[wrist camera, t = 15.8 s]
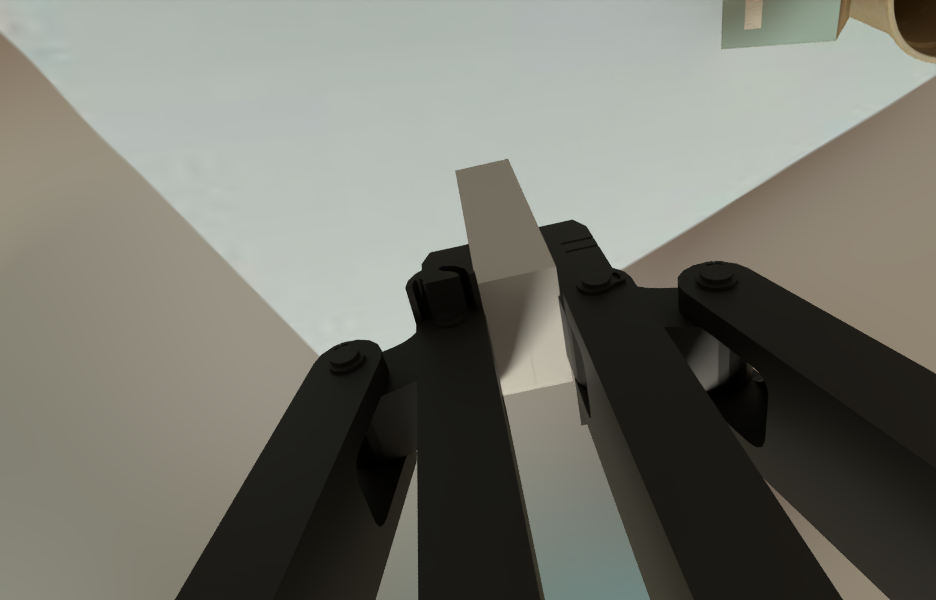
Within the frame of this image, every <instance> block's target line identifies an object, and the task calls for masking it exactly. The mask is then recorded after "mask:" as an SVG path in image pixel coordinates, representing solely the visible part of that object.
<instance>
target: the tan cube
mask: <svg viewBox="0 0 936 600" xmlns="http://www.w3.org/2000/svg"><path fill="white" fill-rule="evenodd" d="M850 4H851V0H723V13H722V43H721V49H730V48H744V47H758V46H771V45H785V44H799V43H812V42H826V41H836V39H837V38H838V36H839V34H840V32H841V31H842V29H843V27H844V26H845V24H846V22H847V20H848V19H849V12H850Z"/></svg>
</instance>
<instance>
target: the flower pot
mask: <svg viewBox="0 0 936 600" xmlns="http://www.w3.org/2000/svg"><path fill="white" fill-rule="evenodd" d="M849 17H851V18H854V19H856V20H858V21H861V22H863V23H865V24H867V25H870V26H872V27H874V28H876V29H879V30H881V31H883V32H886V33H888V34H889V35H890V36H891V37H892V38H893V39H894V41H895V42H896V44H897V45H898V46H899V47H900V48H901V49H902V50H903V51H904V52H905V53H906V54H908V55H910V56H912V57H914V58H916V59H918V60H921V61H924V62H930V63H936V0H851V4H850V12H849Z"/></svg>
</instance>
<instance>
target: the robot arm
mask: <svg viewBox="0 0 936 600" xmlns="http://www.w3.org/2000/svg"><path fill="white" fill-rule="evenodd" d="M456 177H457V182H458V188H459V193H460V199H461V204H462V210H463V215H464V221H465V226H466V232H467V237H468V243H469V244H467V245H463V246H458V247H454V248H449V249H445V250H440V251H435V252H431V253H429V255H428V256H427V257H426V259H425V260H424V262H423V263H422V271H420V272H418V273H416V274H415V275H414V276H413V277H412V278H411V279H409V280H408V282H407V285H406V292H407V295H408V298H409V302H410V305H411V308H412V312H413V315H414V318H415V322H416V333H415V334H414V335H413V336H412V337H411V338H409V339H408V340H406V341H405V342H403V343H401V344H399V345H397V346H395V347H393V348H391V349H388V350H386V351H384V352H382V350H381V349H380V347H379V345H378V344H376V343H374V342H372V341H370V340H354V341H349V342H344V343H341V344H338V345H336V346H334V347H332V348H331V349H329V350H328V351H326V352H325V353H323V354H322V355H321V356H320V357H319V358H318V360H317V361H316V362H315V363H314V364H313V366H312V368H311V370H310V371H309V373H308V374H307V376H306V378H305V380H304V381H303V383H302V385H301V387H300V388H299V390H298V391H297V393H296V395H295V397H294V398H293V400H292V402H291V403H290V405H289V407H288V409H287V410H286V412H285V414H284V415H283V417H282V419H281V420H280V422H279V424H278V425H277V427H276V429H275V431H274V432H273V434H272V436H271V437H270V439H269V441H268V443H267V444H266V446H265V448H264V449H263V451H262V453H261V454H260V456H259V458H258V460H257V461H256V463H255V465H254V466H253V468H252V470H251V471H250V473H249V475H248V476H247V478H246V480H245V481H244V483H243V485H242V487H241V488H240V490H239V492H238V493H237V495H236V497H235V498H234V500H233V502H232V504H231V505H230V507H229V509H228V510H227V512H226V514H225V516H224V517H223V519H222V521H221V522H220V524H219V526H218V527H217V529H216V531H215V532H214V534H213V536H212V538H211V539H210V541H209V543H208V545H207V546H206V548H205V549H204V551H203V553H202V554H201V556H200V558H199V560H198V561H197V563H196V565H195V566H194V568H193V570H192V571H191V573H190V575H189V577H188V578H187V580H186V582H185V583H184V585H183V587H182V588H181V590H180V592H179V594H178V596H177V597H176V599H175V600H376V596H377V592H378V589H379V586H380V583H381V579H382V576H383V573H384V569H385V566H386V562H387V559H388V556H389V552H390V549H391V546H392V542H393V539H394V536H395V532H396V529H397V526H398V522H399V519H400V515H401V512H402V509H403V505H404V502H405V499H406V495H407V492H408V488H409V485H410V481H411V478H412V475H413V472H414V468H415V465H416V461H417V470H418V471H417V473H418V474H417V478H418V600H545V598H544V593H543V589H542V583H541V578H540V573H539V569H538V564H537V559H536V554H535V549H534V544H533V539H532V534H531V529H530V524H529V519H528V514H527V509H526V504H525V499H524V495H523V490H522V485H521V480H520V475H519V470H518V465H517V460H516V455H515V450H514V445H513V441H512V435H511V430H510V425H509V421H508V416H507V411H506V407H505V403H504V398H503V396H504V395H509V394H513V393H518V392H523V391H528V390H532V389H537V388H542V387H546V386H551V385H556V384H561V383H566V382H570V381H572V374H571V368H572V371H573V374H574V376H575V383H576V390H577V397H578V404H579V411H580V418H581V425H585V424H587V425H588V428H589V430H590V433H591V436H592V439H593V442H594V444H595V447H596V450H597V453H598V455H599V458H600V461H601V464H602V467H603V469H604V472H605V475H606V478H607V480H608V483H609V486H610V489H611V491H612V494H613V497H614V500H615V503H616V505H617V508H618V511H619V514H620V516H621V519H622V522H623V525H624V528H625V530H626V533H627V536H628V539H629V542H630V544H631V547H632V550H633V553H634V556H635V558H636V561H637V564H638V567H639V569H640V572H641V575H642V578H643V581H644V583H645V586H646V589H647V592H648V594H649V597H650V600H843V599H842V598H841V596H840V595H839V593H838V592H837V590H836V589H835V587H834V585H833V584H832V582H831V581H830V579H829V578H828V577H827V575H826V573H825V572H824V570H823V569H822V567H821V566H820V564H819V563H818V561H817V560H816V558H815V557H814V555H813V553H812V552H811V550H810V549H809V548H808V546H807V544H806V543H805V541H804V540H803V539H802V537H801V535H800V534H799V532H798V531H797V529H796V528H795V526H794V525H793V523H792V522H791V520H790V518H789V517H788V516H787V514H786V513H785V511H784V510H783V508H782V506H781V505H780V503H779V502H778V500H777V499H776V497H775V496H774V494H773V493H772V491H771V490H770V488H769V486H768V485H767V483H766V482H765V480H766V481H767V482H768V483H769V484H770V485H771V486H772V487H773V488H774V489H775V490H776V491H778V493H780V495H782V496H783V497H784V498H785V499H786V500H787V501H788V502H789V503H790V504H791V505H792V506H793V507H794V508H795V509H796V510H797V511H798V512H799V513H800V514H801V515H802V516H803V517H804V518H805V519H807V520H808V521H809V522H810V523H811V524H812V525H813V526H814V527H815V528H816V529H817V530H818V531H819V532H820V533H821V534H822V535H823V536H825V538H826V539H827V540H828V541H830V542H831V543H832V544H833V545H834V546H835V547H836V548H837V549H838V550H839V551H840V552H841V553H842V554H843V555H844V556H845V557H846V558H847V559H848V560H849V561H850V562H851V563H853V565H855V566H856V567H857V568H858V569H859V570H860V571H861V572H862V573H863V574H864V575H865V576H866V577H867V578H868V579H869V580H870V581H871V582H872V583H873V584H874V585H875V586H876V587H878V588H879V589H880V590H881V591H882V592H883V593H884V594H885V595H886V596H887V597H888V598H889V599H890V600H936V374H935V373H934V372H932V371H930V370H928V369H926V368H925V367H923V366H921V365H919V364H917V363H916V362H914V361H912V360H910V359H909V358H907V357H905V356H903V355H902V354H900V353H898V352H896V351H894V350H893V349H891V348H889V347H887V346H886V345H884V344H882V343H880V342H878V341H877V340H875V339H873V338H871V337H869V336H868V335H866V334H864V333H862V332H861V331H859V330H857V329H855V328H854V327H852V326H850V325H848V324H846V323H845V322H843V321H841V320H839V319H838V318H836V317H834V316H832V315H830V314H829V313H827V312H825V311H823V310H822V309H820V308H818V307H816V306H814V305H812V304H811V303H809V302H807V301H806V300H804V299H802V298H800V297H799V296H797V295H795V294H793V293H791V292H790V291H788V290H786V289H784V288H783V287H781V286H779V285H777V284H775V283H774V282H772V281H770V280H768V279H767V278H765V277H763V276H761V275H759V274H757V273H756V272H754V271H752V270H750V269H748V268H746V267H744V266H741V265H739V264H735V263H728V262H723V261H715V262H712V261H711V262H705V263H701V264H697V265H693V266H691V267H690V268H687V269H686V270H684V271H683V272H682V273H681V274H680V275H679V277H678V288H644V287H638V286H637V285H636V284H635V282H634V281H633V279H632V278H631V277H630V276H629V275H628V274H626V273H625V272H624V271H621V270H618V269H615V268H612V267H611V265H610V263H609V262H608V260H607V259H606V257H605V255H604V254H603V252H602V251H601V249H600V247H599V246H598V244H597V243H596V241H595V239H594V238H593V236H592V235H591V233H590V231H589V230H588V228H587V227H586V226H585V225H582V224H580V223H578V222H576V221H574V220H569V221H564V222H560V223H555V224H551V225H546V226H542V227H538V225H537V223H536V221H535V218H534V216H533V214H532V212H531V209H530V207H529V205H528V203H527V201H526V198H525V196H524V194H523V192H522V189H521V187H520V185H519V183H518V180H517V178H516V176H515V174H514V171H513V169H512V167H511V165H510V162H509V160H508V159H505V160H501V161H497V162H492V163H488V164H483V165H479V166H474V167H470V168H466V169H461V170H457V171H456ZM753 367H754V368H755V369H756V370H757V371H758V372H759V373H760V374H759V373H758V372H757V371H755V370H754V369H753ZM416 450H417V451H416ZM763 478H764V479H765V480H764V479H763Z"/></svg>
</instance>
